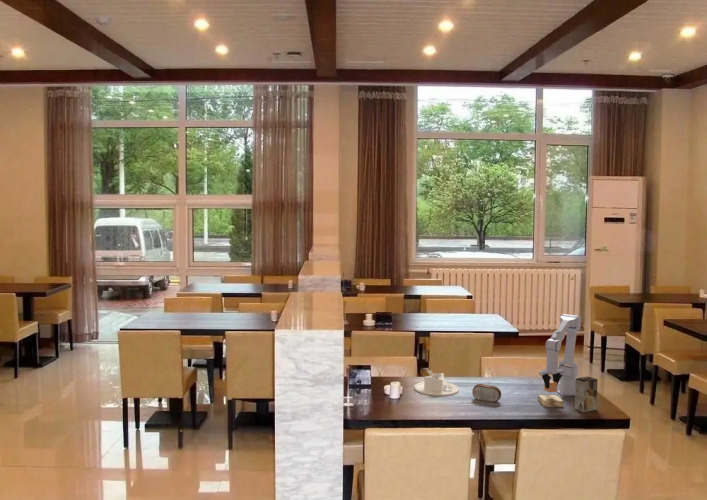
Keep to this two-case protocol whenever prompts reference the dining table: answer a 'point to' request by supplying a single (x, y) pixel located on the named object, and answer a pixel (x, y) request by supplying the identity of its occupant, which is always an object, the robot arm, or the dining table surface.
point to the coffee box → (586, 394)
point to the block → (551, 386)
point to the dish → (436, 386)
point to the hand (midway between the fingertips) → (551, 387)
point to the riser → (550, 400)
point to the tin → (486, 393)
